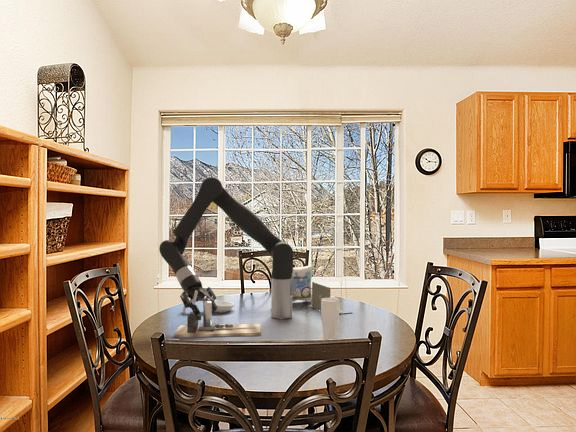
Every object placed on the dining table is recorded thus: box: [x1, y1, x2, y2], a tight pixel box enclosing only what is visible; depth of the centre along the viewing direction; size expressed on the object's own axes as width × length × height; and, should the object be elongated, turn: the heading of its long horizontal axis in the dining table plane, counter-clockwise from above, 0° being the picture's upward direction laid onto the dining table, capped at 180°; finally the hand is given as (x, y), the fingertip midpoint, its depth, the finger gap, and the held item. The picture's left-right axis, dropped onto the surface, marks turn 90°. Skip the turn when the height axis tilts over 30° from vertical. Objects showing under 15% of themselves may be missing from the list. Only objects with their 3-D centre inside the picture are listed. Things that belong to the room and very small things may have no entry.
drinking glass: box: [320, 297, 341, 341], centre depth 143 cm, size 7×7×15 cm
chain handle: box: [198, 301, 233, 330], centre depth 153 cm, size 13×5×10 cm, turn 95°
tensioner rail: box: [173, 311, 262, 338], centre depth 153 cm, size 32×12×7 cm, turn 95°
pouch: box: [292, 263, 314, 302], centre depth 203 cm, size 8×19×20 cm, turn 114°
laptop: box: [311, 281, 342, 313], centre depth 188 cm, size 18×12×13 cm
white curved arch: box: [182, 298, 235, 314], centre depth 184 cm, size 24×12×7 cm, turn 103°
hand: (207, 312), depth 153 cm, fingers open, 8 cm apart
